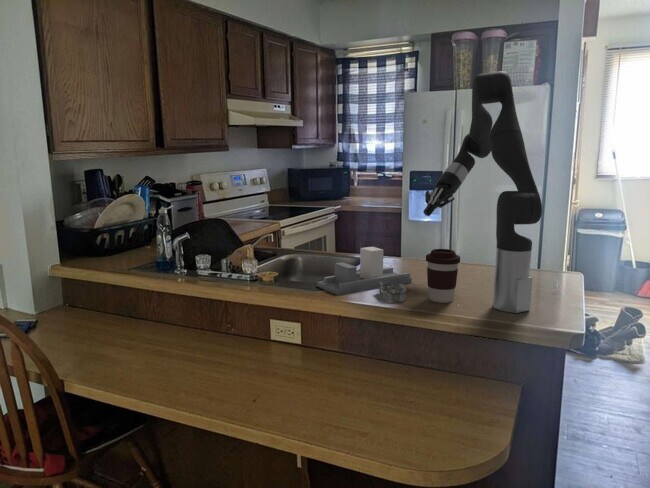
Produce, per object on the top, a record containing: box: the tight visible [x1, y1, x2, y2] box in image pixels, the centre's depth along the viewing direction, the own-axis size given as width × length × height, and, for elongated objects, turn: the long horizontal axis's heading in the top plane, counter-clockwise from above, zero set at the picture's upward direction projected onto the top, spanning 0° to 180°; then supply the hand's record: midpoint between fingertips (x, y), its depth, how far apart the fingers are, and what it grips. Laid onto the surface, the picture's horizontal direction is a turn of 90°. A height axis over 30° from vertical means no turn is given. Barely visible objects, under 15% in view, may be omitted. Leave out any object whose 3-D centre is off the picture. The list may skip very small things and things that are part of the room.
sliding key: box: [359, 246, 384, 279], centre depth 170 cm, size 6×5×10 cm
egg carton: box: [378, 281, 407, 303], centre depth 155 cm, size 11×8×4 cm
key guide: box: [316, 267, 413, 296], centre depth 169 cm, size 12×30×3 cm, turn 122°
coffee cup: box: [425, 248, 461, 304], centre depth 151 cm, size 10×10×15 cm
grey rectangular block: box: [334, 262, 358, 283], centre depth 165 cm, size 8×4×6 cm, turn 32°
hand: (426, 214), depth 177 cm, fingers closed
